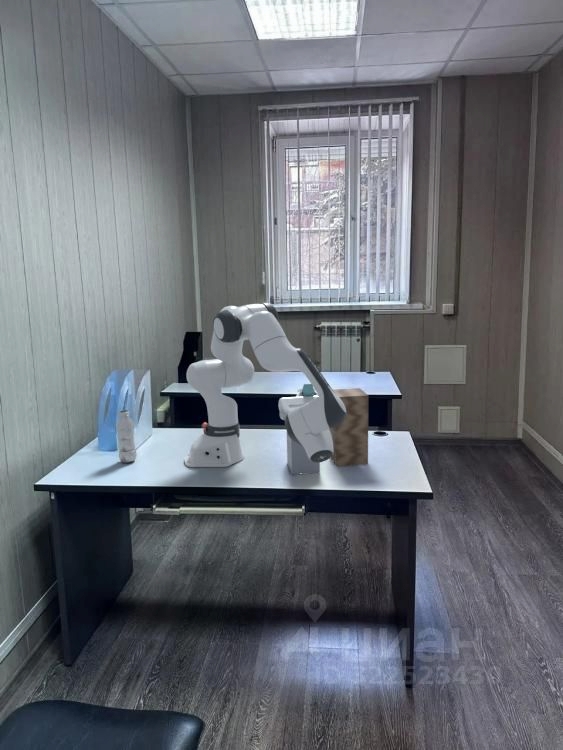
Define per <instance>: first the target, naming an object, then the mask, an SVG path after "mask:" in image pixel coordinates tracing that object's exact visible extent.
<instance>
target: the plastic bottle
mask: <svg viewBox="0 0 563 750" xmlns="http://www.w3.org/2000/svg"><path fill="white" fill-rule="evenodd" d="M134 425H135V424H134V421H133V420H132V419H131V418H130V410H128V409H124V410H119V411H118V420H117V422H116V423H115V427H116V428H115V429H116V433H117V436H118V438H117V439H118V444H119V445H118V446H119V449H118V458H119V461H120V462H121V463H124V464H126V463H127V464H128V463H133V462H134V461H136V459H137V454H138V453H137V450H136V448H135V442H134V441H135V440H134V430H135V426H134Z"/></svg>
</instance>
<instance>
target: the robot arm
mask: <svg viewBox="0 0 563 750" xmlns="http://www.w3.org/2000/svg"><path fill="white" fill-rule="evenodd" d="M212 327H213V328H212V329H213V332H212V337H211V344H210V351H211V353H212V355H213V356H214V357H215V358H214V359H204V360H203V359H202V360H199V361H197V362H193V363H191V364H189V366H188V368H187V370H186V381H187V384H188V385H189V386H190V387H191V388H192V389H194V390H195V391H196V392H198V393H199V394H200V395H201V396H202V398H203V399H204V401H205V404H206V409H207V416H208V417H207V418H208V423H207V422H206V421H205V422H203V423H202V428H203V434H202V435H200V436H199V437H197V438H196V440H194V441H193V442H192V444H191V445H190V449H189V453H187V454H186V455H185V456H184V465H185V466H186V467H188V468H227V467H230V466H231V465H233V464H238V463H239V462H241V461H243V459H244V458H245V457H244V454H243V451H242V447H241V442H240V441H241V440H240V435H241V432H240V431H241V429H240V427H241V426H240V422H239V418H238V417H239V416H238V404H237V402H236V400H235V399H234V398H232V397H230V396H227V395H225V394H223V391H222V389H224V388H234V387H239V386H243V385H246V384H249V383H251V382H252V381H253V379H254V378H255V377H254V376H255V366H254V364H253V363H252V360H250V359H249V358H247V357H246V356H244V354H243V345H244V341H247V340H248V341H249V342H250V345H251V348H252V351H253V352H254V353H253V354H254V356H255V357H256V360H257V361H258V363H259V365H260V366H261V367H262V369H263V368H264V370H267V371H269V372H272V373H285V372H286V373H287V372H301V373H302V374H304V376H305V377H306V378H307V380H308V382H309V384H312V386H313V388H314V394H313V396H303V390H302V389H303V388H298V389H297V393H296V395H295V396H290V397H289V396H288V397H285V396H284V397H281V398H279V400H278V410H279V417H280V419H281V420H283V421H284V425H285V430H286V434H287V433H288V435H289V437H290V438H291V439H292V440H293V441H294V442H296V443H298V444H300V445H302V446H303V447H304V449H305V451H306V453H307V455H308V458H309V459H310V461H312V462H315V463H319V462H320V463H323V462H326V461H327V460H330V459H331V457H332V456H333V453H334V447H333V440H332V435H331V432H330V430H329V429H330V428H334V427H336V426H339V425H342V423H343V422H344V420H345V417H346V414H347V411H346V408H345V405H344V403H343V402H342V400H341V399H340V397H339V396H338V395H336V394H335V392H334V391H333V390H334V389H333V388H332V386H330V384H329V383H328V382H327V380H326V378H325V377H324V375H323V374H322V372H321V370H320V369H319V368H318V367H317V365H316V363H315V362H314V361H313V360H312V358H311V357H310V355H308V353H306V351H305V350H304V349H302V348H301V347H300V348H299V347H298V348H297V347H295V346H294V345H292V344H291V342H290V341H289V339H288V337H287V335H286V333H285V330H284V329H283V327H282V326H281V324H280V323H279V313H278V310H277V308H275V306H274V305H273V304H272V303H269V302H258V303H251V304H244V305H241V306H236V305H228V306H224V307H223V308H222V309H220V311H219V312H218V313H216V314H215V316H214V318H213V322H212ZM301 396H302V397H301Z"/></svg>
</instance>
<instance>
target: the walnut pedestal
mask: <svg viewBox="0 0 563 750" xmlns="http://www.w3.org/2000/svg"><path fill="white" fill-rule="evenodd" d="M332 390H333V391H334V392H335V394H336V395H338V396H339V397H340V399H341V400H342V402H343V403H344V405H345V408H346V411H347V414H346V417H345V420H344V422H343V423H342V425H339V426H336V427H334V428H330V429H329V430H330V432H331V435H332V440H333V447H334V453H333V456H332V457H331V458H330V459H331V461H332V462H333V464H334V466H335V467H346V466H358V465H359V466H360V465H361V464H362V465H369V394H367V393H366V392H365V391H364V390H362V389H361V388H359V387H356V388H354V387H353V388H338V389H336V388H335V389H332Z"/></svg>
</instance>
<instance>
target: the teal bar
mask: <svg viewBox="0 0 563 750" xmlns="http://www.w3.org/2000/svg"><path fill="white" fill-rule="evenodd" d="M301 389H302V390H303V396H314V395H313V394H314V387H313V386H312V384H311V383H304V384H303V385H302V388H301ZM301 397H302V396H301Z"/></svg>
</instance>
